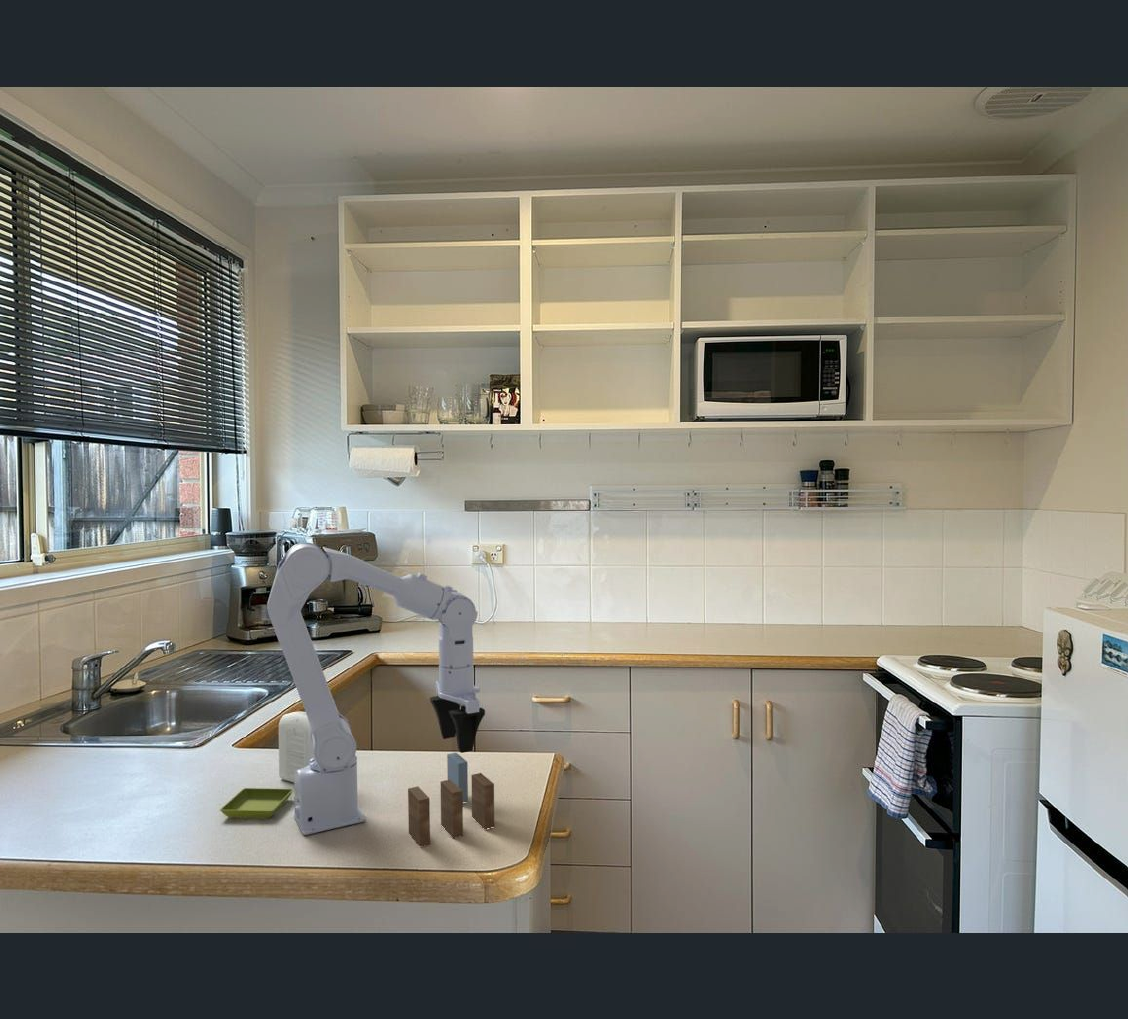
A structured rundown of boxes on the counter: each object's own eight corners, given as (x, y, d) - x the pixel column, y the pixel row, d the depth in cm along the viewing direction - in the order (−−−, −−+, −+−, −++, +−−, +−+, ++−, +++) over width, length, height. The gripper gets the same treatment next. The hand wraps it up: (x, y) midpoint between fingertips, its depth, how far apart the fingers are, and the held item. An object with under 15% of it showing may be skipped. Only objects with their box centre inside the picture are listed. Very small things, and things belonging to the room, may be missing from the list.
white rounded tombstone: (334, 782, 135) (333, 713, 135) (316, 791, 132) (314, 720, 131) (294, 771, 140) (293, 705, 140) (275, 779, 137) (274, 712, 136)
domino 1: (419, 847, 111) (419, 800, 111) (408, 833, 116) (408, 788, 115) (430, 844, 112) (429, 798, 112) (418, 831, 116) (418, 786, 116)
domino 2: (452, 838, 114) (452, 793, 114) (441, 825, 118) (440, 781, 118) (462, 836, 115) (462, 790, 114) (450, 823, 119) (450, 779, 119)
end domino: (458, 805, 126) (458, 763, 125) (447, 794, 130) (447, 754, 130) (467, 803, 126) (467, 761, 126) (456, 792, 131) (456, 752, 130)
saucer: (294, 800, 129) (294, 788, 129) (273, 823, 120) (272, 810, 120) (244, 799, 129) (243, 787, 129) (219, 822, 120) (218, 810, 120)
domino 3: (484, 830, 117) (484, 785, 116) (471, 818, 121) (471, 774, 121) (494, 828, 117) (493, 783, 117) (481, 815, 122) (480, 772, 121)
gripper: (496, 670, 123) (496, 753, 124) (462, 652, 136) (462, 727, 136) (455, 676, 119) (456, 761, 120) (424, 657, 132) (425, 734, 133)
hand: (457, 744), depth 128 cm, fingers open, 7 cm apart
